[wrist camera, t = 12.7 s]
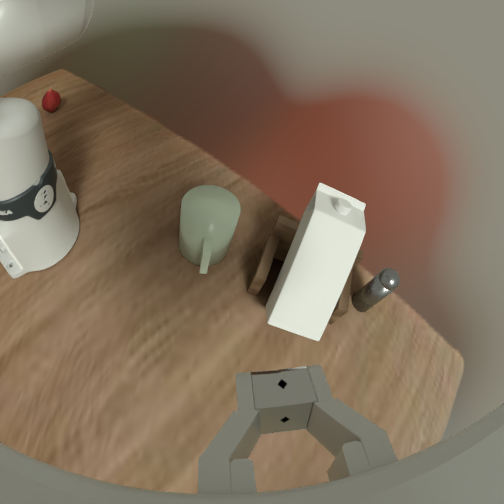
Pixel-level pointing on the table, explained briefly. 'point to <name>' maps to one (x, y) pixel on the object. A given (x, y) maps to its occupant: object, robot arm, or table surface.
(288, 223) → the walnut holder
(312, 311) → the milk carton
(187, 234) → the sage mug
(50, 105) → the onion
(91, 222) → the table surface
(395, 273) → the grey shaker
